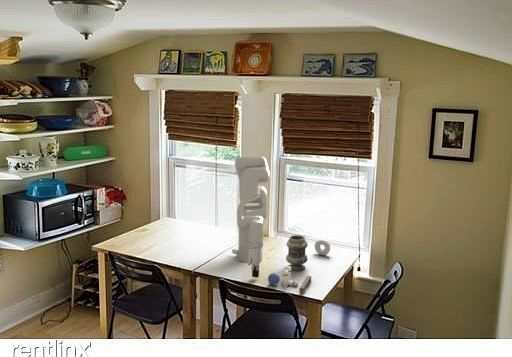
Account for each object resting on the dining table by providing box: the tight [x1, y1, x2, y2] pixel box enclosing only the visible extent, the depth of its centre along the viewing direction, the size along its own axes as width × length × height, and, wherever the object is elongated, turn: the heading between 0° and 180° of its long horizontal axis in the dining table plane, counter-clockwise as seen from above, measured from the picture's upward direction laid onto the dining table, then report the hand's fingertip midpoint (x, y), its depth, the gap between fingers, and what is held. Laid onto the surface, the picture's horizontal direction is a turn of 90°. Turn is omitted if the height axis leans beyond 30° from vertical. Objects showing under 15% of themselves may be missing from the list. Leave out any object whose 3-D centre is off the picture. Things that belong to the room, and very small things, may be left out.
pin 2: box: [285, 265, 292, 281], centre depth 255 cm, size 2×2×8 cm
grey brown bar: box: [298, 275, 312, 295], centre depth 250 cm, size 2×16×3 cm, turn 160°
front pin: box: [280, 278, 299, 287], centre depth 252 cm, size 2×2×8 cm
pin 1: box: [282, 269, 289, 288], centre depth 250 cm, size 2×2×8 cm
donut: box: [314, 238, 331, 256], centre depth 294 cm, size 10×4×10 cm, turn 57°
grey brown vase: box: [285, 234, 309, 272], centre depth 273 cm, size 12×12×18 cm
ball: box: [267, 272, 281, 286], centre depth 252 cm, size 6×6×6 cm
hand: (255, 276), depth 259 cm, fingers closed
